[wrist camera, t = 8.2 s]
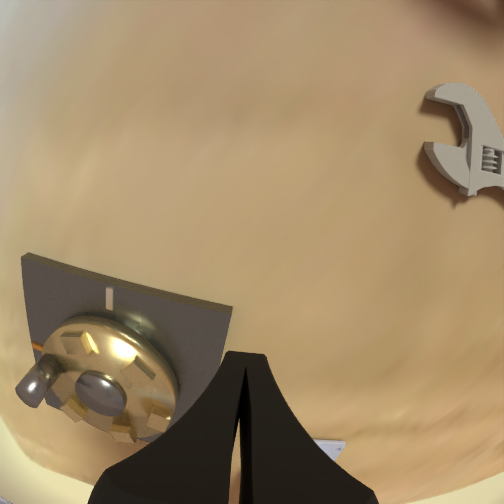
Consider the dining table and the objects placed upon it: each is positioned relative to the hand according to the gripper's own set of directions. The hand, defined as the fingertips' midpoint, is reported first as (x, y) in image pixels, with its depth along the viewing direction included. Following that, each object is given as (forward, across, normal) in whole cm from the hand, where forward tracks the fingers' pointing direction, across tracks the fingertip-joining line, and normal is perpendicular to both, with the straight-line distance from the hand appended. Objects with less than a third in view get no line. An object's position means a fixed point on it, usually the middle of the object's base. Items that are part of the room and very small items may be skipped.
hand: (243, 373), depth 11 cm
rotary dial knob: (+8, +10, +9) cm, 16 cm away
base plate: (+9, +10, +9) cm, 16 cm away
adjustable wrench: (+10, -21, -8) cm, 24 cm away
